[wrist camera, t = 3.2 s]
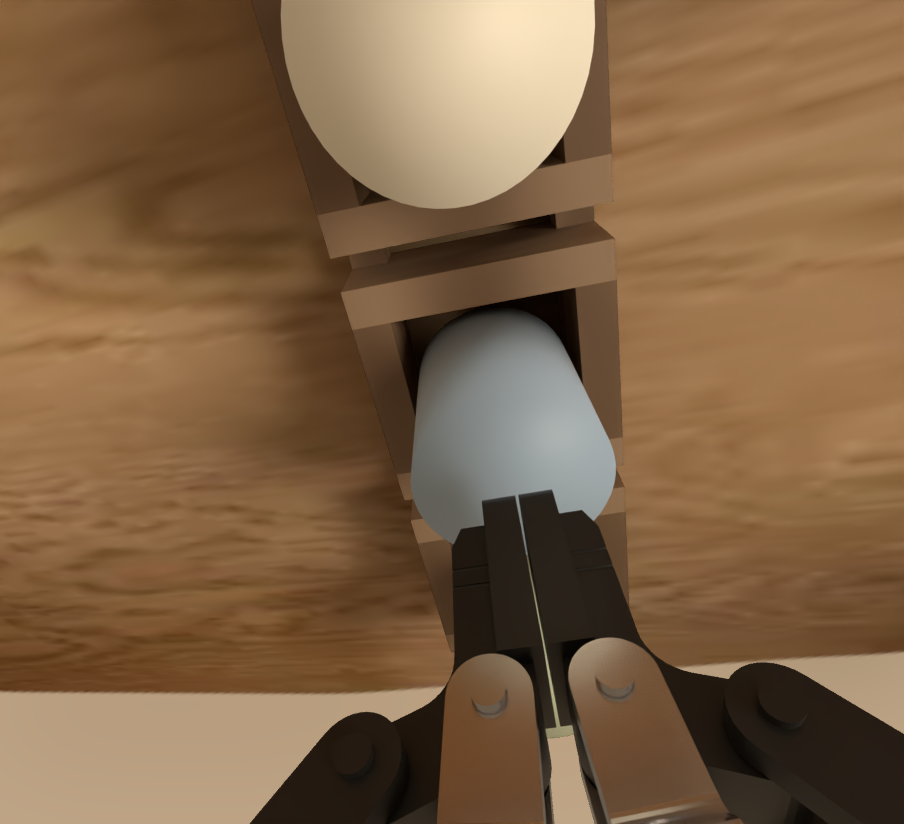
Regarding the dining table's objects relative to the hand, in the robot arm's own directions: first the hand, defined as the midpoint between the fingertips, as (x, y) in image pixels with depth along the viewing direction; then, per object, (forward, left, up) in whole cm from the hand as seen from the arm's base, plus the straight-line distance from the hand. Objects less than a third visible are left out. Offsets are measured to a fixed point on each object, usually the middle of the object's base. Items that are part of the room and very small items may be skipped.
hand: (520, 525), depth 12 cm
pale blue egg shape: (0, 0, -7) cm, 7 cm away
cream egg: (+7, -6, -7) cm, 12 cm away
